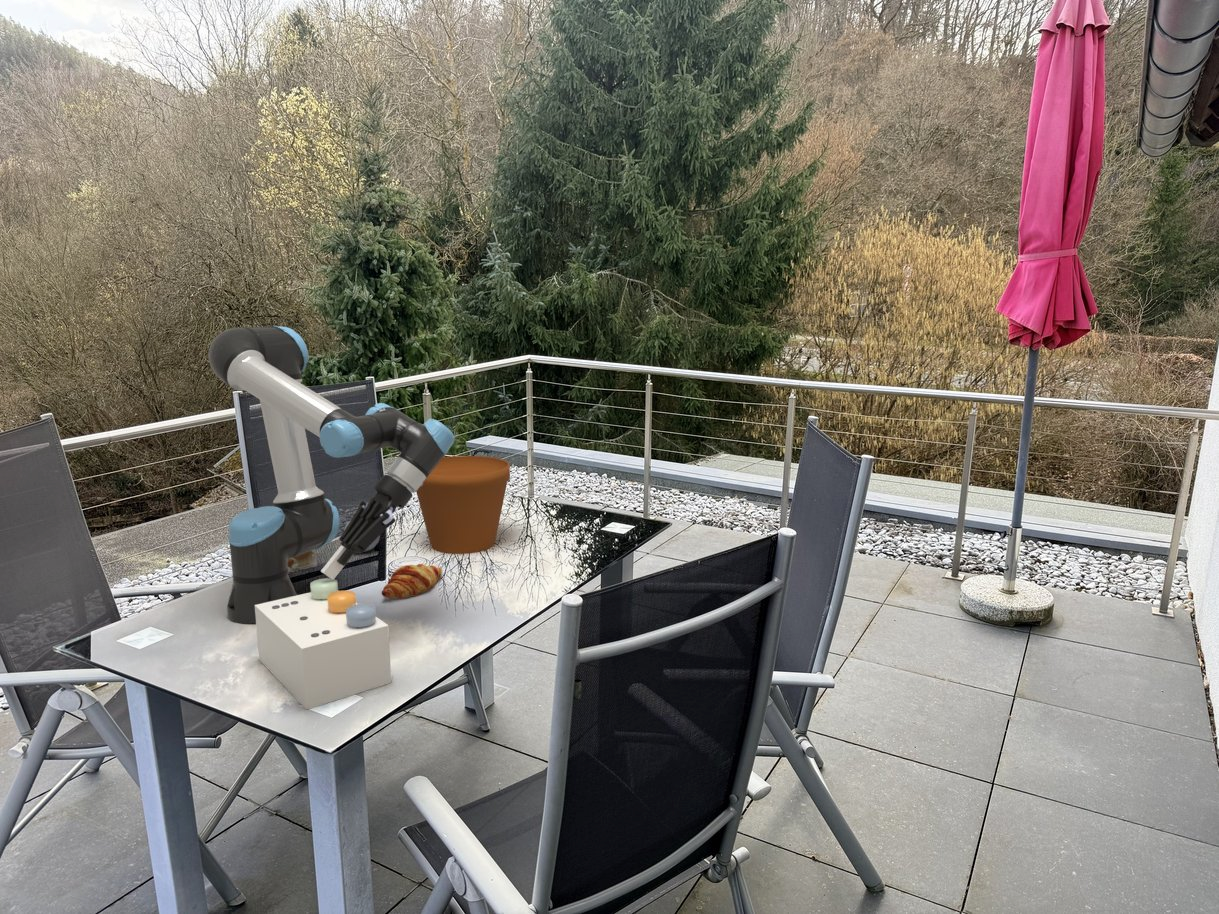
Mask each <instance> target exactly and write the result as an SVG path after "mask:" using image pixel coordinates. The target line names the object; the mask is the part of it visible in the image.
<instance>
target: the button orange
mask: <svg viewBox="0 0 1219 914" xmlns="http://www.w3.org/2000/svg"><path fill="white" fill-rule="evenodd" d="M356 598H357V597H356V592H355V591H353V590H339V591H336V592H333V593H330V594H329V595H328V596H327V600H328V610H329V611H331V612H336V613H342V612H346V609H347V608H348V607H350V606H353V605H356V603H357V599H356Z"/></svg>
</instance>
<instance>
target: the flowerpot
mask: <svg viewBox="0 0 1219 914" xmlns="http://www.w3.org/2000/svg"><path fill="white" fill-rule="evenodd" d="M510 466H511V464H510V462H509V461H507V460H505V459H501V458H497V457H494V456H493V457H492V456H482V455H481V456H479V455H456V456H455V455H452V456H444V457H443V458H442V459H441V461H440V462H439V463H438V464H437V465H436V467H435V468H434V469H433V470H432V472H431V473H430V474H429V476H428V477H427V478H426V479H425V481H424V482H423V485H422V486H420V487H419V488H418V490H417V491H416V492H415V493H416V496H417V499H418V504H419V506H420V510H421V514H422V515H421V516H422V519H423V521H424V526H425V529H426V534H427V537H428V540H429V543H430V548H431V549H432V550H434V551H436V552H439V553H443V554H448V555H449V554H450V555H451V554H452V555H467V554H475V553H479V552H480V553H481V552H483V551H488V550H489V549H491V548H493V547H494V546H495V544H496V539H497V534H498V529H499V525H500V519H501V514H502V510H503V505H504V500H505V494H506V489H507V486H508V481H509V480H510V479H511V471H510V470H511V467H510Z"/></svg>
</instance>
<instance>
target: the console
mask: <svg viewBox="0 0 1219 914" xmlns="http://www.w3.org/2000/svg"><path fill="white" fill-rule="evenodd" d="M338 591H340V589H338ZM357 604H358V603H357V602H356V605H357ZM255 616H256V623H255V627H256V638H257V640H256V641H257V649H258V650H257V651H258V660H259V661H260V662H261V664H263V665H264V666H265V667H266V668H267V669H268V671H270V673H271V674H272V675H273V676H274V677H275V678H276V679H277V680H278V681H279V682H280V683H281V684H282V685H283V687H284V688H285V689H286V690H287V691H288V692H289V693H290V694H291V695H292V696H293V697H294V698H295V699H296V700H297V702H299V704H300V705H302V707H303V708H304V709H305V710H306V711H307V710H310V709H313V708H316V707H319V706H323V705H325V704H328V703H333V702H335V701H338V700H341V699H344V698H347V697H350V696H354V695H357V694H361V693H363V692H367V691H370V690H372V689H375V688H379V687H382V686H385V685H388V684H391V683H392V670H391V652H390V651H391V648H390V633H389V632H390V631H389V629H390V628H389V625H388V624H387V623H385V621H383V620H382V619H380V618H379V617H377V616H376V621H375V622H374V623H373V624H371V625H369V626H365V627H359V628H356V627H351V626H348V625H347V621H346V612H342V613H336V612H331V611H329V610H328V600H327V599H323V600H320V599H314V598H312V597H311V591H310V592H306V593H302V594H297V596H292V597H288V598H283V599H279V600H275V601H270V602H266V603H262V604H257V605H255Z"/></svg>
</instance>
